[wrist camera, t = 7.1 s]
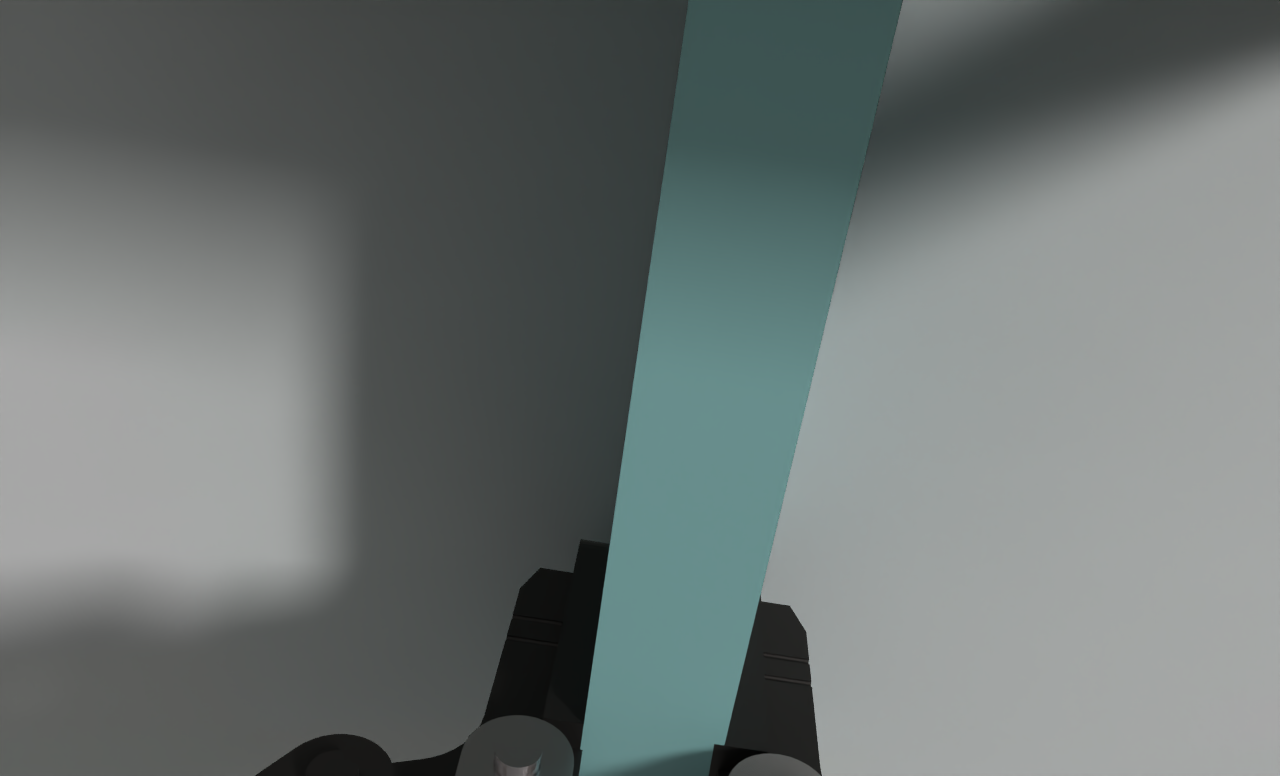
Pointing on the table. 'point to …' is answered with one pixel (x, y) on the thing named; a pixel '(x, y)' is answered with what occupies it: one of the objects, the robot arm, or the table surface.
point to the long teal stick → (726, 360)
